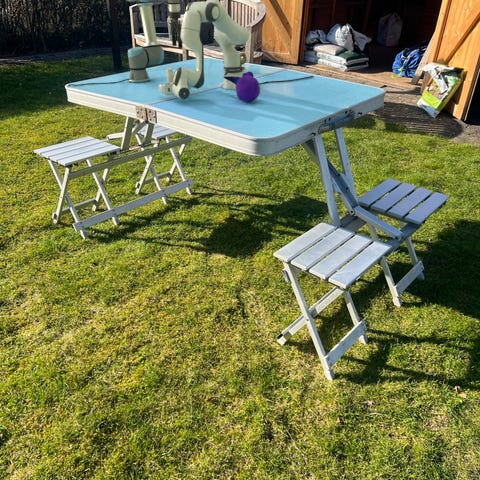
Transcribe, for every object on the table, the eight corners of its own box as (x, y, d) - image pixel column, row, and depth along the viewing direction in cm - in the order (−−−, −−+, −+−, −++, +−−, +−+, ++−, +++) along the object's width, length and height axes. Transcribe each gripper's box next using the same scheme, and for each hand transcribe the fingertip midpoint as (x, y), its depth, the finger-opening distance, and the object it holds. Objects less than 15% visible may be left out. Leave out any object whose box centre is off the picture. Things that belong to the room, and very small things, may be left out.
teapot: (227, 72, 362) (226, 52, 355) (220, 70, 371) (219, 51, 363) (249, 69, 371) (249, 50, 364) (242, 67, 380) (242, 48, 372)
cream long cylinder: (176, 93, 300) (174, 68, 291) (170, 95, 297) (168, 69, 289) (172, 92, 302) (170, 67, 294) (167, 94, 300) (164, 68, 292)
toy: (245, 93, 294) (260, 108, 274) (220, 89, 287) (233, 103, 266) (251, 69, 286) (267, 82, 266) (226, 64, 279) (240, 76, 258)
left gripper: (163, 10, 300) (167, 45, 310) (174, 12, 280) (177, 49, 291) (174, 10, 302) (177, 44, 313) (186, 12, 282) (188, 48, 293)
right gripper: (193, 81, 284) (186, 78, 295) (161, 84, 277) (156, 80, 289) (193, 92, 287) (187, 88, 298) (162, 95, 281) (157, 90, 292)
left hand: (177, 47), depth 302 cm, fingers open, 13 cm apart
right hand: (171, 84), depth 293 cm, fingers open, 8 cm apart
